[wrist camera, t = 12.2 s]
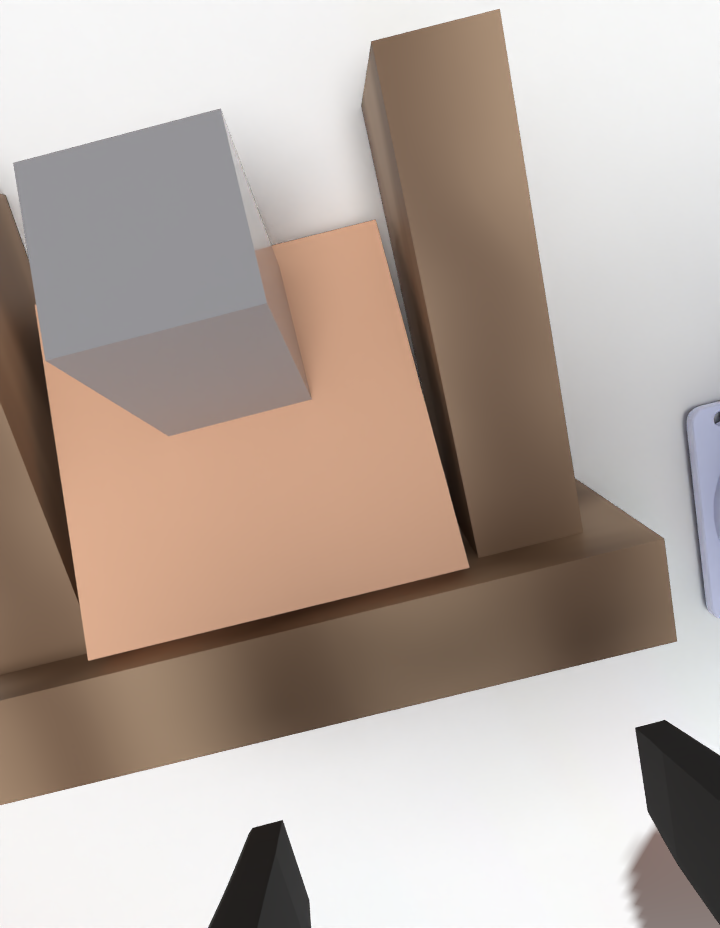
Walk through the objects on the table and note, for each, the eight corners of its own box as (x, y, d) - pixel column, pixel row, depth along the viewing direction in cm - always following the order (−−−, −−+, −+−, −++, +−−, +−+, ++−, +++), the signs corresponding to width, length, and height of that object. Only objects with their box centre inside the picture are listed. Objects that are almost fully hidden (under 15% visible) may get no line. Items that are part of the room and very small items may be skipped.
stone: (279, 266, 17) (220, 108, 11) (311, 399, 17) (267, 303, 11) (142, 302, 17) (13, 163, 11) (168, 436, 17) (45, 360, 11)
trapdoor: (376, 242, 19) (375, 219, 17) (464, 568, 17) (469, 567, 16) (57, 321, 19) (34, 304, 18) (109, 654, 17) (88, 660, 16)
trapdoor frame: (508, 68, 18) (591, -45, 13) (585, 555, 22) (677, 641, 16) (-140, 231, 19) (-354, 194, 13) (50, 685, 22) (-47, 816, 17)
